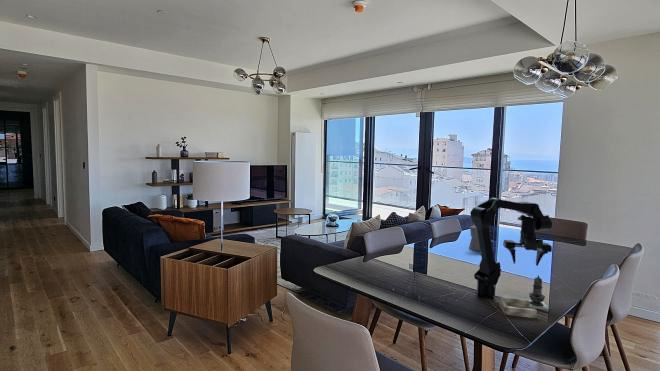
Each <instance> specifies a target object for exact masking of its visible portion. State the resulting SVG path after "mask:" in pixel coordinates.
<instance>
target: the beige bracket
mask: <svg viewBox="0 0 660 371" xmlns="http://www.w3.org/2000/svg"><path fill="white" fill-rule="evenodd" d="M529 300H530V299H526V298H517V297H516V298H515V297H508V296H498V301H497V302H498V304H497V305H498V306H499V308H500V309H501V311H502V313H503V315H507V316H514V317H521V318H522V317H523V318H529V319H530V318H532V319H537V317H538V316H537V315H538V310H537V308H530V301H529Z"/></svg>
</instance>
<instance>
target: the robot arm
mask: <svg viewBox="0 0 660 371" xmlns="http://www.w3.org/2000/svg"><path fill="white" fill-rule="evenodd" d="M499 209H505V210H510V211H515V212H517V213H520V214H521V215H520V216H518V217H517V220H518V221H520V222H521V223H520V224H521V226H520V232H519V233H520V236H519V237H520V239H519V242H515V241H514V240H512V239H504V240H503V241H502V242H503V243H502V246H503V247H504V248H505V249H507V250H508V252H509V253H510V255H511V259H512V262H513V264H516V251H517V249H516V248H524V249H525V251H535V252H536V257H535V266H537V267H538V266H539V263H540V262H541V259H542V258H543V256H544V255H546V254H549V253H552V251H553V246H552V245H551V244H549V243H548V242H544V240H543V239H539V238H538V239H537V234H536V231H550V230H551V229H552V227H553V222H552V220H551V218H550V215H549V214H548V215H547V214H543V212H542V209H541V208H540V206H539V204H538V203H536V202H528V201H517V202H516V201H511V200H505V199H501V198H498V197H497V198H496V197H491V198H488V200H486V201H483V202H482V203H480V204H478V205H477V206H474V207H473V208H472V209H471V210H470V212H469V213H470V218H471V222H472V223H473V226H474V225H475V226H476V228H477V232H478V238H479V244H480V250H481V251H480V255H481V260H480V262H479V268H478V270H477V271H476V272H475V273H474V275H473V277H474V280H476V281H477V282H476V291H475V294H476V296H477V297H476V298H483V299H492V300H493V299H495V298H494V297H495V289H496V288H495V286H496V285H497V284H498V281H499V279H500V277H501V274H502V273H501V272H502V271H503V270H502V268H501V263H500V262H499V261H497V260H496V259H495V257H494V250H493V245H492V238H491V232H490V231H491V230H490V226H491V224H492V220H493V219H492V218H493V217H494V216H495V215H496V214H497V213H498V210H499Z"/></svg>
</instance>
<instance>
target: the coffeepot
mask: <svg viewBox="0 0 660 371" xmlns="http://www.w3.org/2000/svg"><path fill="white" fill-rule="evenodd" d="M469 230H470V237H471V239H470V241H469V247H468V249H469V250H471V251H475V252H481V250H480V244H479V238H478V232H477V228H476V226H475V225H474V224H473V225H470V227H469Z"/></svg>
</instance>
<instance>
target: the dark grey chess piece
mask: <svg viewBox="0 0 660 371" xmlns="http://www.w3.org/2000/svg"><path fill="white" fill-rule="evenodd" d="M532 287H533V289H532V290H533V291H532V292H530V293H529V294H528V295H529V300H532V301H530V304H531V305H534V306H544V305H543V304H542V303H541V302H544V300H545V298H546V296H545V295H544V294H543V293H542V290H543V279H542V278H541V277H540V275H537V277H534V280H533V285H532Z"/></svg>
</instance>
